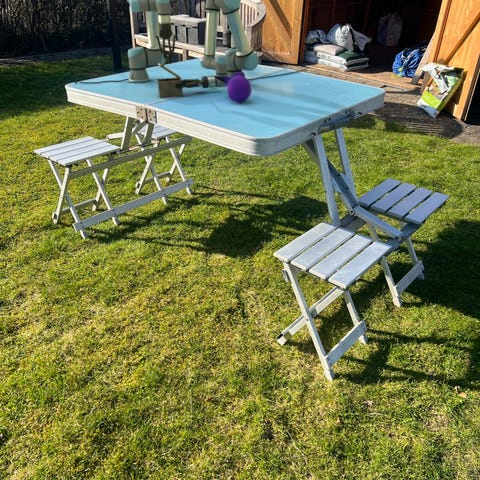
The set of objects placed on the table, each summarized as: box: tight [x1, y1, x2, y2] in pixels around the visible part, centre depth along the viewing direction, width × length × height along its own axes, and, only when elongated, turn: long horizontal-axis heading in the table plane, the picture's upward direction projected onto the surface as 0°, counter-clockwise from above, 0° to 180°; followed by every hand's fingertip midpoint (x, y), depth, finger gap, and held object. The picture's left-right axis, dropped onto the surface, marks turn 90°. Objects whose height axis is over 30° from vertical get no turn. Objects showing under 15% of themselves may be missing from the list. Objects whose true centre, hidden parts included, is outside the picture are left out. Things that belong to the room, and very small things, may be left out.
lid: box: [157, 54, 183, 80], centre depth 288 cm, size 16×9×8 cm
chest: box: [156, 77, 184, 99], centre depth 293 cm, size 15×9×10 cm, turn 105°
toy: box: [215, 71, 252, 103], centre depth 277 cm, size 16×18×27 cm
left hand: (168, 63), depth 286 cm, fingers closed on lid, 1 cm apart
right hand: (174, 84), depth 293 cm, fingers closed on chest, 9 cm apart
